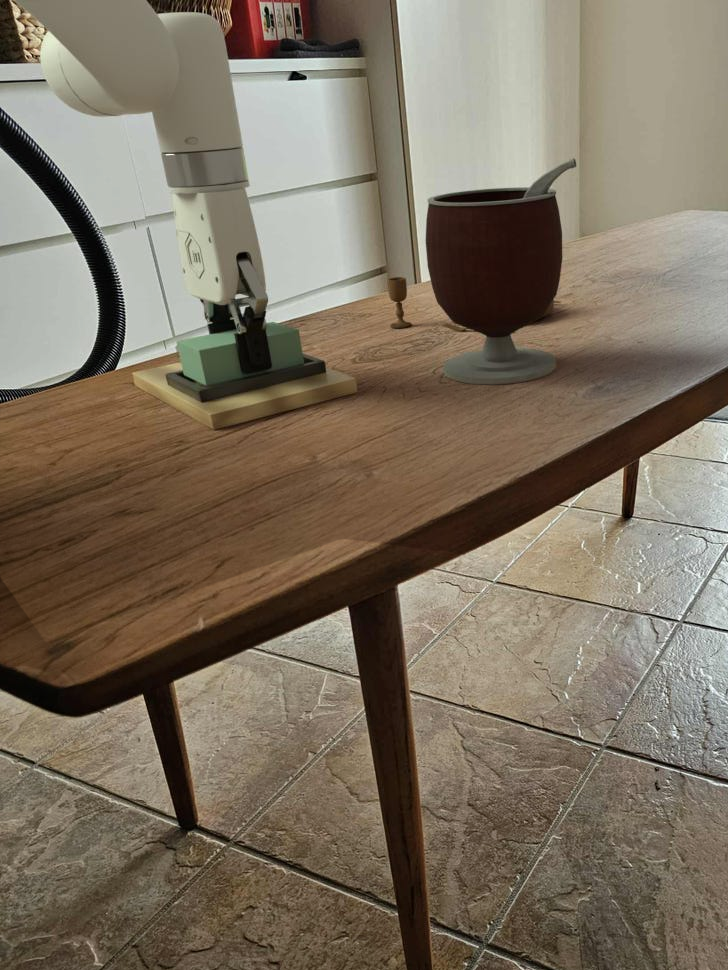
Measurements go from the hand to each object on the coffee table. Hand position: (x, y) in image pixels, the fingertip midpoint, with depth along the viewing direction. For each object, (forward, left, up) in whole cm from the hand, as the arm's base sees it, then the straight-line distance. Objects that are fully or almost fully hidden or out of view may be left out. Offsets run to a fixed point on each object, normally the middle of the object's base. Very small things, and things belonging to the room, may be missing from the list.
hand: (243, 363), depth 94 cm
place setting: (+38, +9, -3) cm, 39 cm away
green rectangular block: (0, 0, -1) cm, 1 cm away
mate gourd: (+24, -14, -3) cm, 28 cm away
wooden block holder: (0, +2, -3) cm, 4 cm away
